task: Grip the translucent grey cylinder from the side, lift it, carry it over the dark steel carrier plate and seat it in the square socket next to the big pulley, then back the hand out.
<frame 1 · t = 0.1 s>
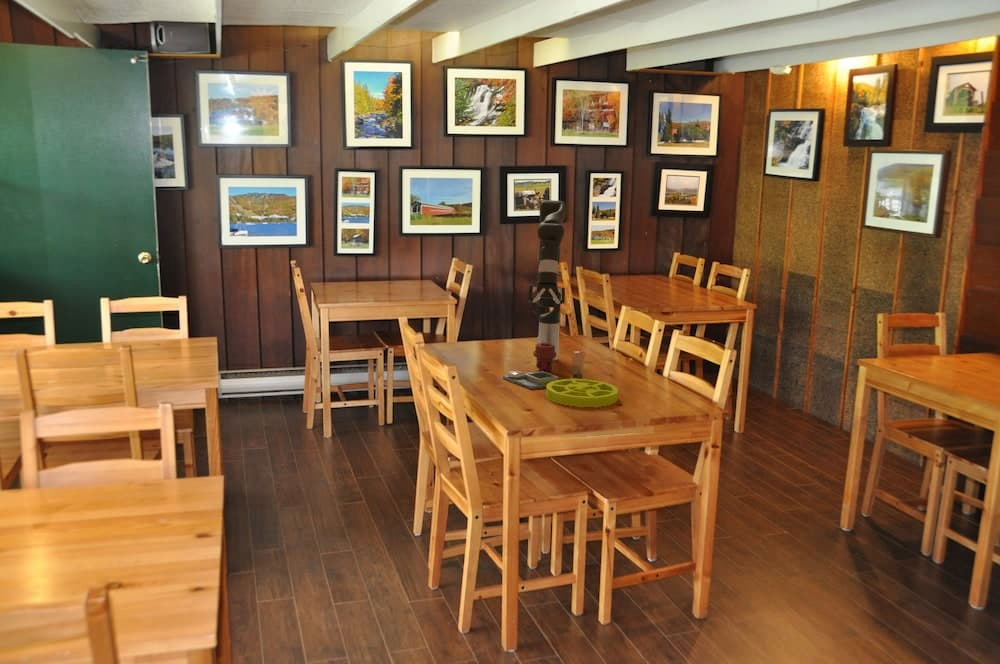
hand: (545, 313, 349), 31 cm above the table, tool tilted 20°, fingers open, 8 cm apart
mechanical component: (544, 371, 388), on the table
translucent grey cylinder: (577, 379, 375), on the table
carrier plate: (532, 381, 369), on the table
pulley: (581, 398, 348), on the table
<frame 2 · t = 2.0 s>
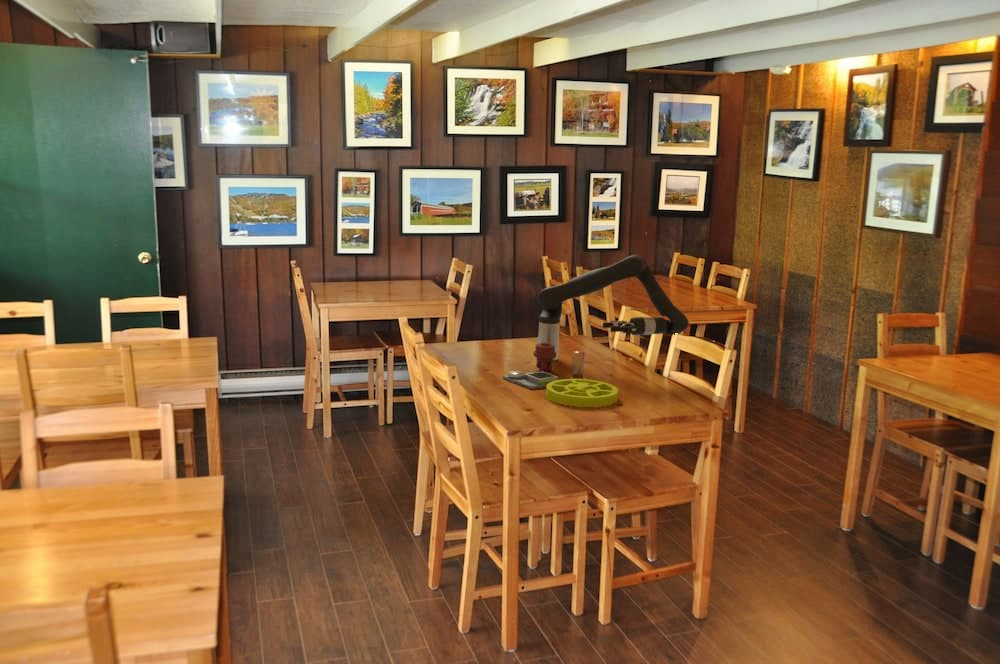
hand: (606, 327, 374), 22 cm above the table, tool horizontal, fingers open, 8 cm apart
nothing on the table moved.
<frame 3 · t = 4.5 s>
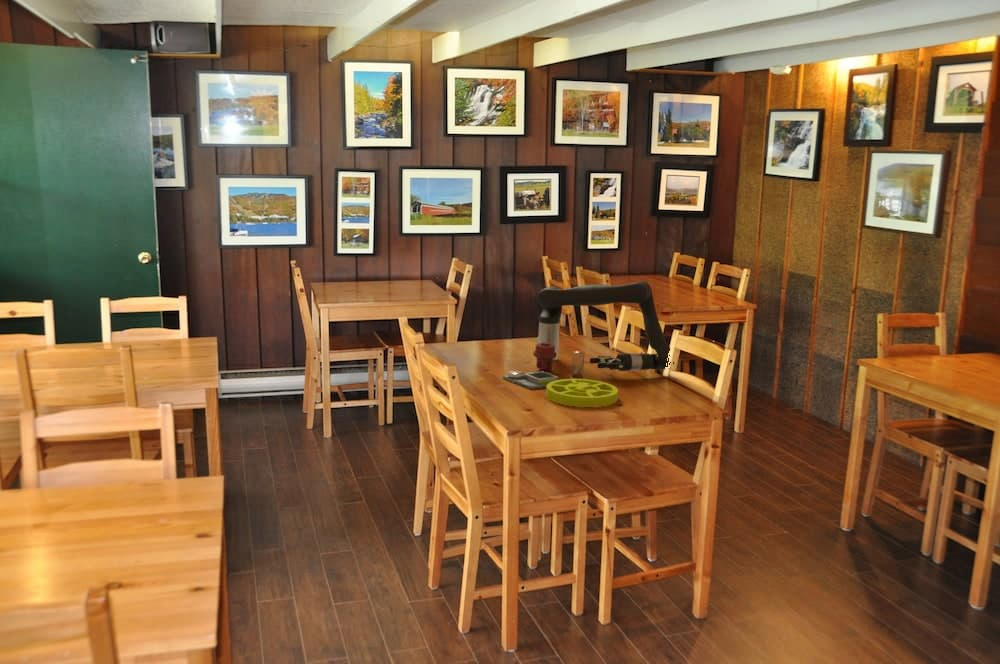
hand: (593, 363, 375), 7 cm above the table, tool horizontal, fingers open, 8 cm apart
nothing on the table moved.
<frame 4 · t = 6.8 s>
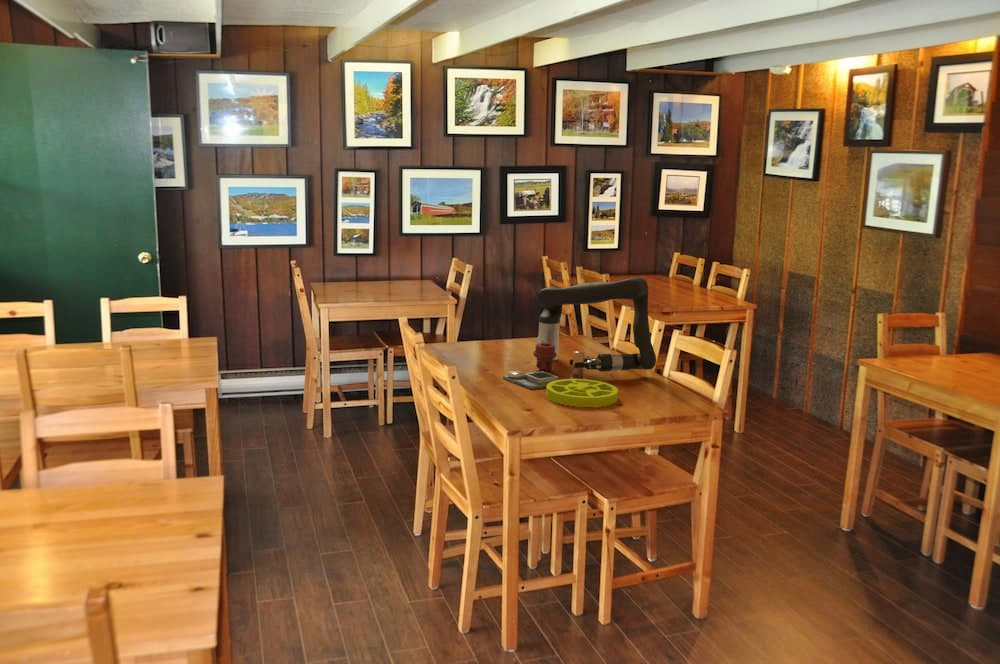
hand: (572, 363, 372), 7 cm above the table, tool horizontal, fingers closed on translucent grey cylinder, 4 cm apart
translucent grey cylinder: (577, 379, 374), on the table, touching gripper
everything else where it was.
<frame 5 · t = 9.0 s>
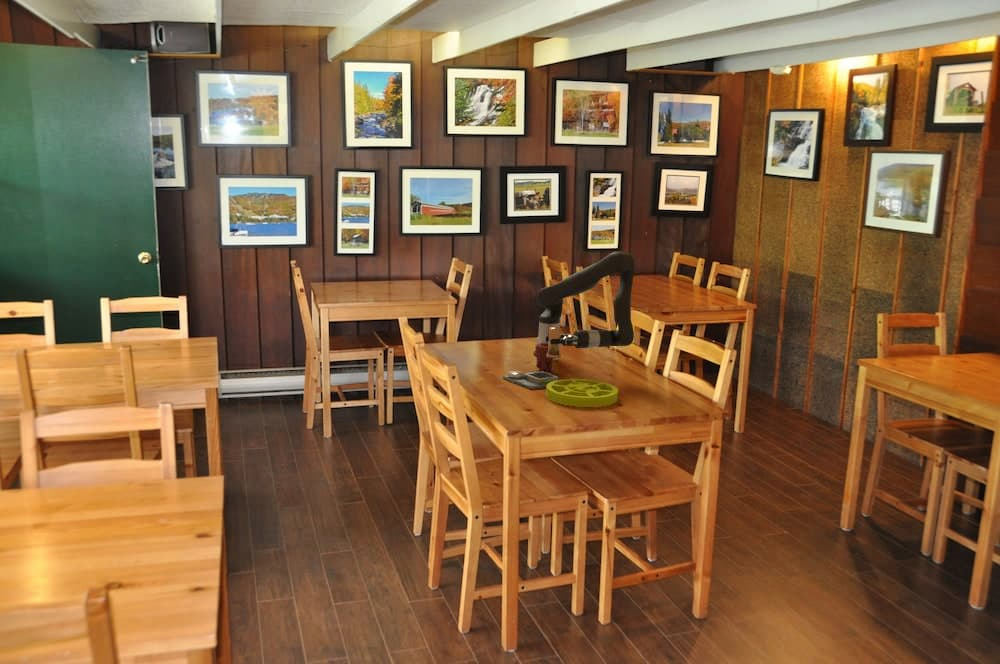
hand: (548, 340, 365), 18 cm above the table, tool horizontal, fingers closed on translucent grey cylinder, 4 cm apart
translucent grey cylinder: (553, 356, 367), point 11 cm above the table, touching gripper
everything else where it was.
when the fingers open (9 cm above the table, at t = 11.4 s): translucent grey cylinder drops 1 cm, resting on carrier plate.
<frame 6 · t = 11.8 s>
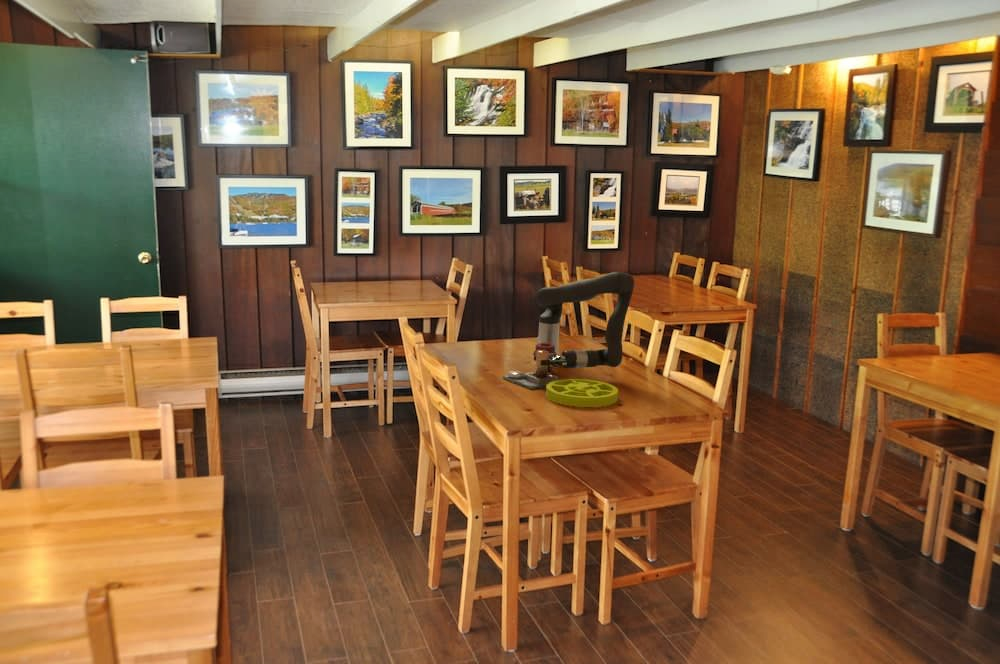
hand: (537, 360, 365), 10 cm above the table, tool horizontal, fingers open, 8 cm apart
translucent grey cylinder: (541, 379, 367), point 1 cm above the table, touching carrier plate
everything else where it was.
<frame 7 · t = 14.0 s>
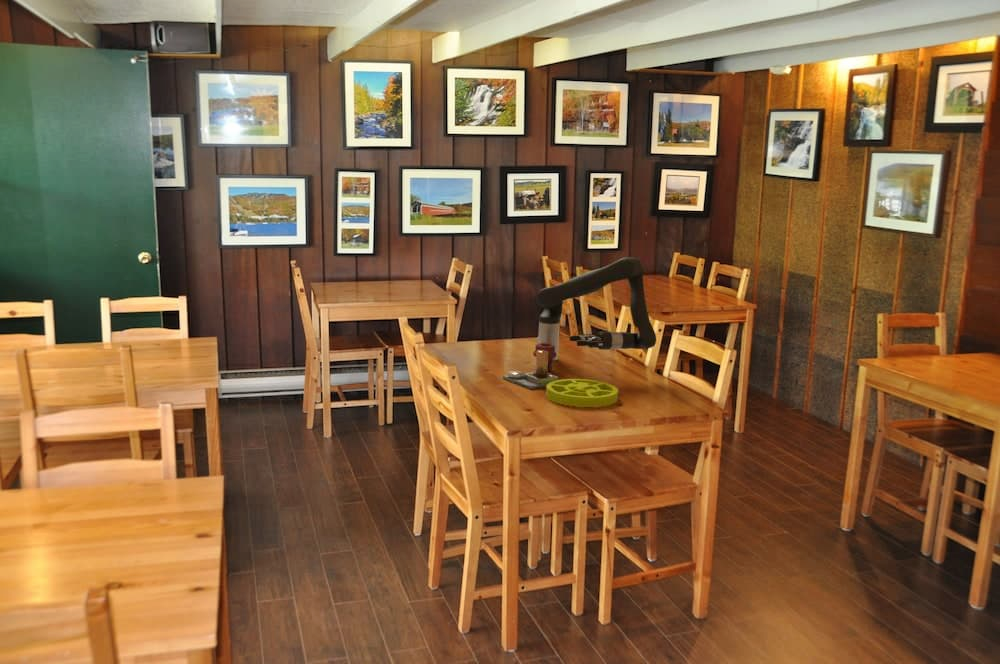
hand: (573, 340, 370), 17 cm above the table, tool horizontal, fingers open, 8 cm apart
nothing on the table moved.
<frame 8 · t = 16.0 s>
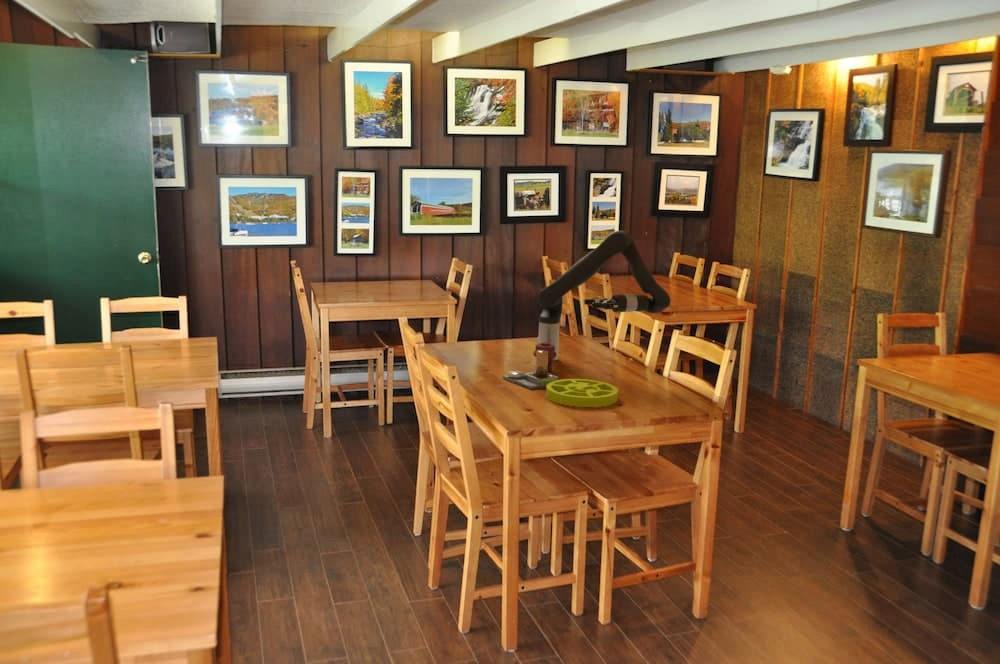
hand: (588, 303, 371), 32 cm above the table, tool horizontal, fingers open, 8 cm apart
nothing on the table moved.
at the end: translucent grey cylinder 0.1 cm from the target spot on the carrier plate, point 1.2 cm above the carrier plate's base; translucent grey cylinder tilted 0°; the gripper is holding nothing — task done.
